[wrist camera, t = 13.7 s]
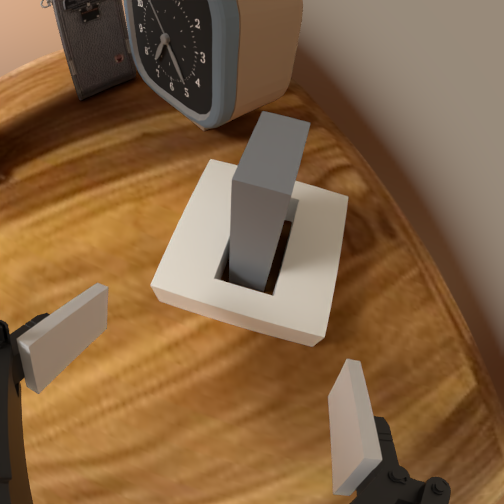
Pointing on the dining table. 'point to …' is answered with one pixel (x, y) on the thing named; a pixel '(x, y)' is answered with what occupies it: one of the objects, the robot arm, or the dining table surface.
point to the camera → (94, 43)
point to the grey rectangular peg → (263, 196)
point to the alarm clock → (214, 53)
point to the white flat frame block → (291, 270)
